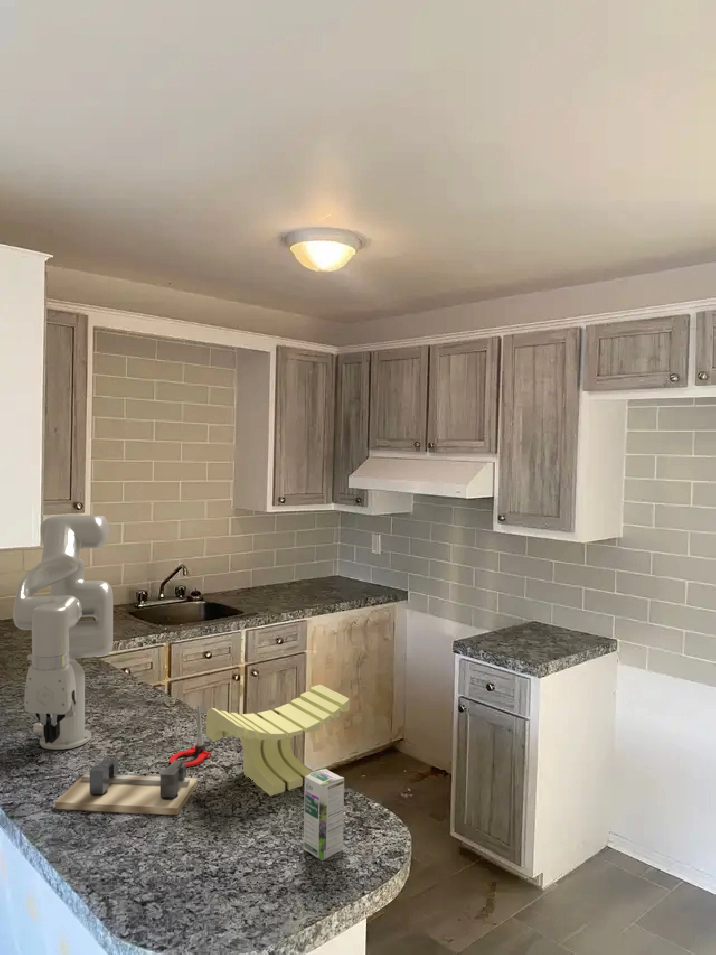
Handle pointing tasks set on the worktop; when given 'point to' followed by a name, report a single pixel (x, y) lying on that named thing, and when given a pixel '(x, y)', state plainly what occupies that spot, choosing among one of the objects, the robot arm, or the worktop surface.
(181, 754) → the tow hook
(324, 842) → the syrup box
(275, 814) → the worktop surface
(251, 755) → the slatted curved stool
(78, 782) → the bolt plate
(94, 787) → the leg
